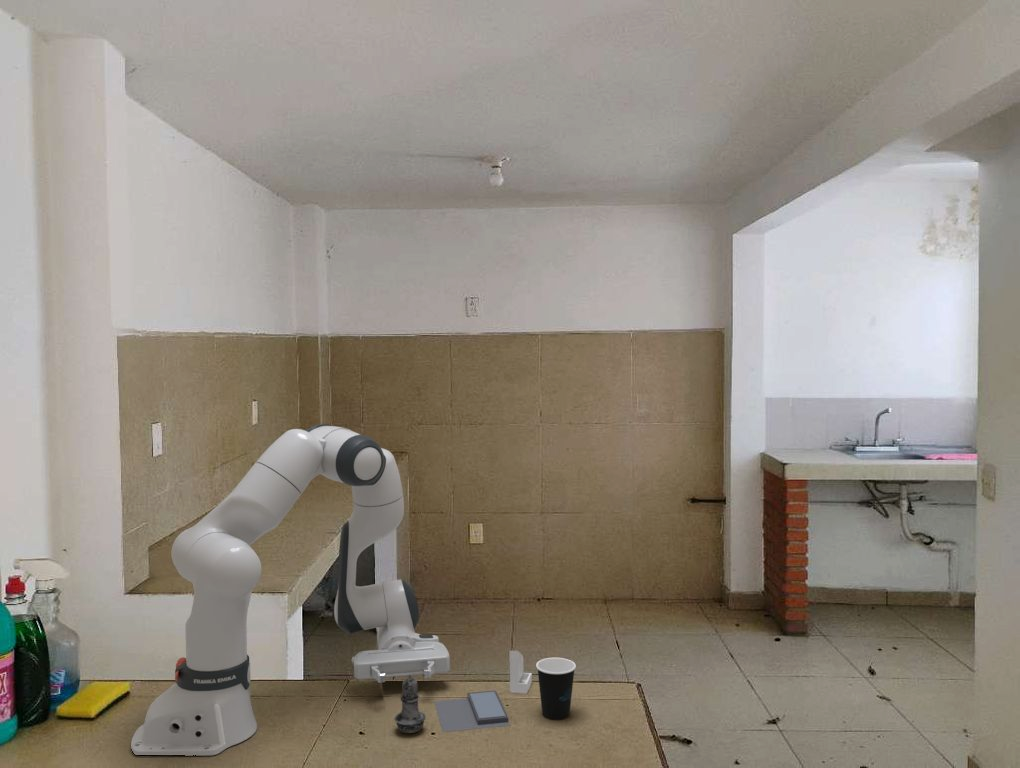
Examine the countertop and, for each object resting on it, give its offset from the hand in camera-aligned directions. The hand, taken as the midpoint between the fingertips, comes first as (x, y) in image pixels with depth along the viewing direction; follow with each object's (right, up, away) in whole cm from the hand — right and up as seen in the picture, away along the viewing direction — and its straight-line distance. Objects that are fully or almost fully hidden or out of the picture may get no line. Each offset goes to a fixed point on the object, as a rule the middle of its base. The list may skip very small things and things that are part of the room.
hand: (404, 676), depth 174 cm
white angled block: (+24, -6, +8) cm, 26 cm away
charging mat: (+14, -7, -4) cm, 16 cm away
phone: (+17, -6, -2) cm, 18 cm away
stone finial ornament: (+3, -7, -11) cm, 14 cm away
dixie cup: (+31, -7, -4) cm, 32 cm away
